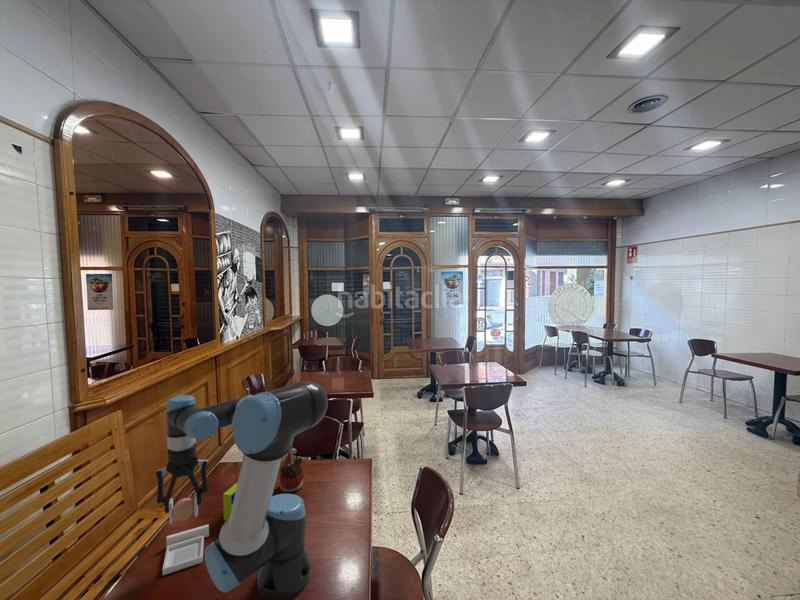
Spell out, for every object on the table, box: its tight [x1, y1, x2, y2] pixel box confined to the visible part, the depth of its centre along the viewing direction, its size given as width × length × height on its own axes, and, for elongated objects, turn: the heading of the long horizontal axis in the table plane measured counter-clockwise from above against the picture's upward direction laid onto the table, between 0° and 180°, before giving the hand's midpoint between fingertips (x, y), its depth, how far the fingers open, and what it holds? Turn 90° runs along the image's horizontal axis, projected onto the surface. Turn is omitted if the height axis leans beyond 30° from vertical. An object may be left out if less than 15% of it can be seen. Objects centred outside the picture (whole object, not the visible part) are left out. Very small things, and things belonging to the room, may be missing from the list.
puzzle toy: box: [222, 481, 238, 522], centre depth 127 cm, size 10×10×10 cm
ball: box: [173, 497, 194, 521], centre depth 106 cm, size 6×6×6 cm
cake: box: [279, 444, 304, 493], centre depth 143 cm, size 11×9×18 cm
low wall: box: [165, 524, 210, 547], centre depth 113 cm, size 1×12×4 cm, turn 118°
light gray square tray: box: [162, 535, 205, 576], centre depth 106 cm, size 10×10×2 cm
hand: (184, 517), depth 106 cm, fingers closed on ball, 6 cm apart
